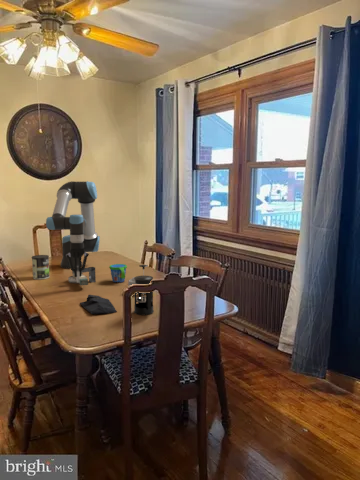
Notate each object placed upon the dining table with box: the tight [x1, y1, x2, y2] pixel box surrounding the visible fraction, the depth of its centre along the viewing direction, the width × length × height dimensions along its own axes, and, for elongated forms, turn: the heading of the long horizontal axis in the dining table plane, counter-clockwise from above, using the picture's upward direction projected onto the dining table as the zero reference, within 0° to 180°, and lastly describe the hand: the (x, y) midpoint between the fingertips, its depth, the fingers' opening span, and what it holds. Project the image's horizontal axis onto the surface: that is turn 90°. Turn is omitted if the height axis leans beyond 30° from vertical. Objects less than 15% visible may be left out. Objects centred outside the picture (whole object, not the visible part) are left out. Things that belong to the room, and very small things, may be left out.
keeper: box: [71, 266, 97, 283], centre depth 230 cm, size 14×3×9 cm, turn 126°
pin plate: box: [68, 275, 88, 284], centre depth 234 cm, size 11×11×2 cm
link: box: [71, 266, 89, 286], centre depth 225 cm, size 25×6×6 cm, turn 25°
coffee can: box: [31, 254, 50, 280], centre depth 241 cm, size 10×10×14 cm
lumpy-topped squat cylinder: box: [127, 276, 146, 294], centre depth 211 cm, size 10×13×9 cm
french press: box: [133, 264, 154, 316], centre depth 177 cm, size 12×9×23 cm
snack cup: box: [108, 263, 128, 284], centre depth 234 cm, size 16×10×10 cm
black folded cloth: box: [79, 294, 118, 315], centre depth 185 cm, size 15×22×5 cm
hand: (78, 282), depth 217 cm, fingers closed
